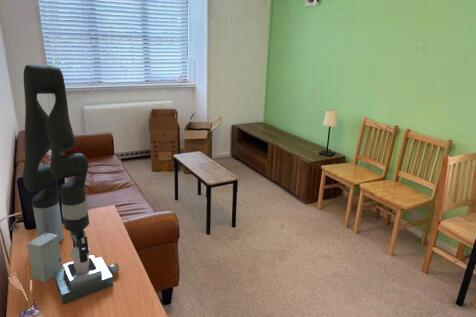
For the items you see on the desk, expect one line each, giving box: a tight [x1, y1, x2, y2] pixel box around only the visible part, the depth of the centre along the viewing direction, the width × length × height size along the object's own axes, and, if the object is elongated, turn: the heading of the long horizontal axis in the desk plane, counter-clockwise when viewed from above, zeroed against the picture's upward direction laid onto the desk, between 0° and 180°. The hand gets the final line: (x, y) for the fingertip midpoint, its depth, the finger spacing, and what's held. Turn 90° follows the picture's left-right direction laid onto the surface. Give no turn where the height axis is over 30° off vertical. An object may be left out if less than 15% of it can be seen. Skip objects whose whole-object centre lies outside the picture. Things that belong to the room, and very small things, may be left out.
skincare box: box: [26, 232, 64, 284], centre depth 121 cm, size 8×6×15 cm
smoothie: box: [69, 246, 91, 276], centre depth 116 cm, size 6×6×14 cm
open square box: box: [53, 254, 120, 305], centre depth 119 cm, size 13×20×7 cm, turn 128°
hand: (80, 255), depth 115 cm, fingers open, 8 cm apart
